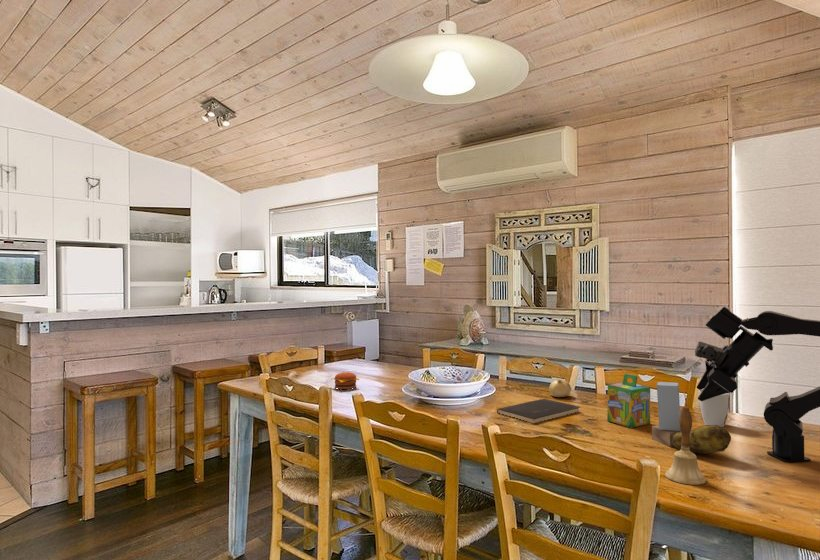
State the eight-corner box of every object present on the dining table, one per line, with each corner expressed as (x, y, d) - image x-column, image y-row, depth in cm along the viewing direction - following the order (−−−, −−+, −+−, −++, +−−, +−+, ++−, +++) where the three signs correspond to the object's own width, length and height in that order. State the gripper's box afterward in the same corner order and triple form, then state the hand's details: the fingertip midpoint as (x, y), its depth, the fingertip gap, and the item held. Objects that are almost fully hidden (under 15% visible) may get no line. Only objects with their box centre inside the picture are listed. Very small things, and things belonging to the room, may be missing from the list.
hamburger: (342, 391, 214) (342, 375, 214) (330, 388, 221) (329, 372, 221) (361, 388, 220) (361, 372, 220) (349, 384, 227) (348, 369, 227)
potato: (689, 444, 140) (688, 415, 140) (737, 459, 129) (736, 427, 129) (667, 449, 137) (667, 419, 137) (715, 465, 125) (714, 431, 125)
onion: (545, 395, 202) (545, 376, 202) (565, 393, 203) (564, 375, 203) (555, 399, 194) (554, 380, 194) (575, 398, 195) (574, 379, 195)
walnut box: (692, 445, 140) (692, 431, 140) (670, 448, 139) (669, 433, 139) (673, 438, 147) (673, 424, 147) (652, 440, 145) (651, 426, 145)
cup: (734, 429, 153) (734, 395, 153) (704, 428, 155) (704, 394, 155) (724, 421, 161) (723, 389, 161) (695, 420, 163) (694, 388, 163)
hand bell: (692, 470, 122) (691, 402, 122) (715, 484, 114) (713, 411, 114) (657, 471, 122) (656, 403, 122) (677, 485, 113) (676, 412, 113)
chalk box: (606, 421, 164) (605, 374, 164) (625, 417, 168) (625, 371, 168) (632, 428, 156) (631, 379, 156) (651, 424, 160) (651, 375, 160)
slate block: (680, 426, 144) (678, 382, 144) (679, 431, 139) (677, 385, 140) (660, 425, 146) (658, 381, 146) (659, 429, 142) (656, 385, 142)
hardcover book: (580, 413, 176) (580, 406, 176) (533, 425, 163) (533, 418, 163) (542, 404, 189) (542, 398, 189) (496, 415, 176) (496, 408, 176)
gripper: (710, 324, 145) (672, 365, 151) (714, 339, 129) (671, 385, 135) (747, 349, 142) (707, 390, 148) (756, 369, 126) (711, 414, 131)
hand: (698, 394), depth 141 cm, fingers open, 9 cm apart
